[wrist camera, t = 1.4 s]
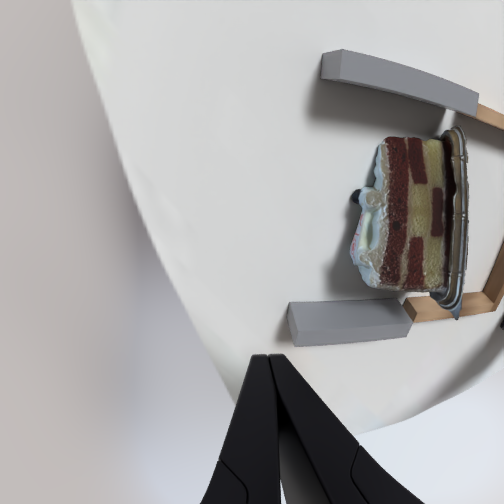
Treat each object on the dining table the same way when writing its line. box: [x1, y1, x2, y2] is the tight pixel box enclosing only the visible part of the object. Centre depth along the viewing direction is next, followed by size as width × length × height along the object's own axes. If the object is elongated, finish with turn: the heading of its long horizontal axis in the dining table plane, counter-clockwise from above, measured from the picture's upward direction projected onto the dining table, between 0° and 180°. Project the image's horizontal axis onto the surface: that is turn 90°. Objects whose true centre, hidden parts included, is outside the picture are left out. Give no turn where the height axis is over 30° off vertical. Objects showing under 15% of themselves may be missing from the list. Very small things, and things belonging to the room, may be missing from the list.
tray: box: [403, 103, 504, 323], centre depth 20 cm, size 11×17×2 cm, turn 176°
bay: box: [287, 49, 479, 347], centre depth 18 cm, size 9×18×3 cm, turn 176°
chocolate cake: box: [350, 126, 469, 320], centre depth 19 cm, size 10×7×12 cm
